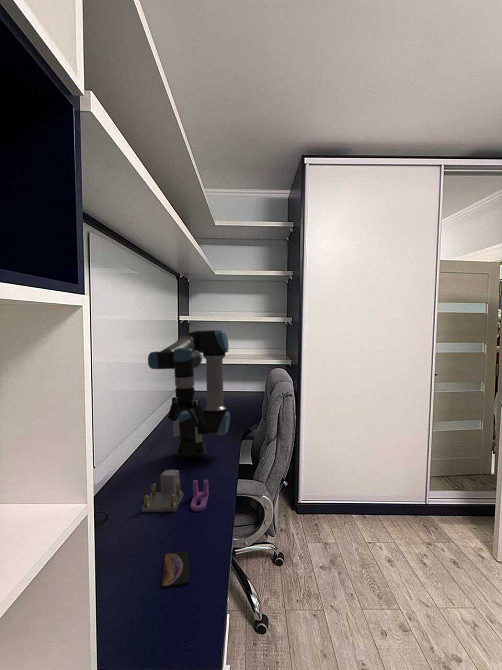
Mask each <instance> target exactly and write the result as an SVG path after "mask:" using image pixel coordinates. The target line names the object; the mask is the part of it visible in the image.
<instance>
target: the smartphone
mask: <svg viewBox="0 0 502 670" xmlns="http://www.w3.org/2000/svg"><path fill="white" fill-rule="evenodd" d="M189 557H190V553H189V551H188V550H183V551H182V550H181V551H176V552H169V553H165V554H164V556H163V564H162V572H161V573H162V574H161V582H160V584H161V585H160V586H161V588H162V589H169V588H168V587H170V588H175V587H174V586H176V587H182V586H187V585H188V584H189V583H190V563H189V562H190V558H189Z"/></svg>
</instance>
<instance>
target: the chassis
mask: <svg viewBox="0 0 502 670" xmlns="http://www.w3.org/2000/svg"><path fill="white" fill-rule="evenodd" d="M156 488H157V484H156V483H151V492H150V494H149V495H148V494H144V495H143V505H142V506H141V508H140V511H141V513H167V512H170V513H171V512H177V510H178V508H179V505H180V504H181V501H182V499H183V497H184V491H182V490H181V482H180V483H176V491H175V492H161V491H157V489H156Z"/></svg>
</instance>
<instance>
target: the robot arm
mask: <svg viewBox="0 0 502 670" xmlns="http://www.w3.org/2000/svg"><path fill="white" fill-rule="evenodd" d="M229 348H230V347H229V340H228V336H227V333H226V332H225V330H220V329H219V330H218V329H215V330H194V331H191V332H188V333H186V334H183V335H182V336H179V338H177V340H176V341H175V342H174V343H172V344H171V345H169V346H167V347H165V348H164V349H162V350H160V351H151V352H150V353H149V354H148V356H147V365H148V367H149V368H150V369H151V370H174V387H176V388H175V389H174V390H175V391H174V392H175V396H174V397H172V398H171V405H170V408H169V413H168V415H167V418H168V419H170V420H171V426H172V437H173V438H176V437H178V436H179V441H178V446H177V450H176V456H178V457H177V458H179V459H183V460H194V459H199V458H201V457H203V456H205V455H206V454H207V447H206V446H205V443H204V440H203V436H206V435H207V436H224V435H226V434H227V433H228V432H229V428H230V422H231V414H230V411H227V407H226V406H225V405H224V378H223V377H224V368H223V364H224V363H223V359H224V358H225V357H226V353H228V352H229ZM203 358H204V359H205V369H206V370H205V373H206V376H205V377H206V406H205V408H203V410H202V407H201V403H200V399H196V400H194V396H195V395H196V394H195V387H194V386H195V376H194V369H195V368H198V367H199V366H200V365H201V363H202V362H203Z"/></svg>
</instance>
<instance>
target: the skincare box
mask: <svg viewBox="0 0 502 670" xmlns="http://www.w3.org/2000/svg"><path fill="white" fill-rule="evenodd" d="M159 477H160V478H159V479H160V492H176V483H180V484H181V479H180V470H178V469H166V470H164V471H163V472H162V473H161V474H160V476H159Z"/></svg>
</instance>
